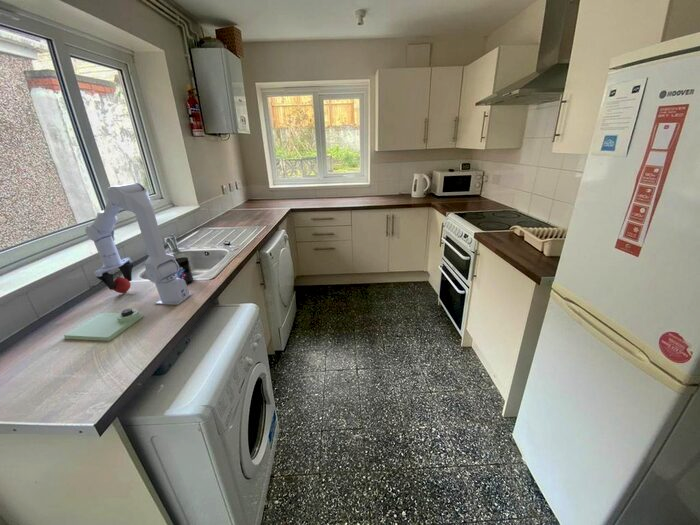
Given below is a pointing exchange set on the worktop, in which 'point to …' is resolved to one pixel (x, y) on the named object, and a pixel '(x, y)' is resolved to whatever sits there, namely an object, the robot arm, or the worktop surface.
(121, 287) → the onion
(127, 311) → the tare button
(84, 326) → the scale
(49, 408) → the worktop surface
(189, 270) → the supplement container
